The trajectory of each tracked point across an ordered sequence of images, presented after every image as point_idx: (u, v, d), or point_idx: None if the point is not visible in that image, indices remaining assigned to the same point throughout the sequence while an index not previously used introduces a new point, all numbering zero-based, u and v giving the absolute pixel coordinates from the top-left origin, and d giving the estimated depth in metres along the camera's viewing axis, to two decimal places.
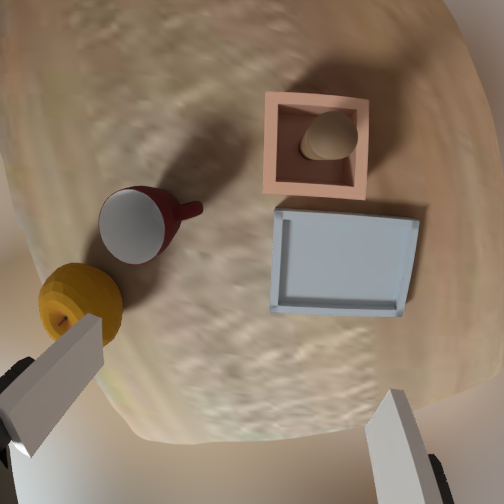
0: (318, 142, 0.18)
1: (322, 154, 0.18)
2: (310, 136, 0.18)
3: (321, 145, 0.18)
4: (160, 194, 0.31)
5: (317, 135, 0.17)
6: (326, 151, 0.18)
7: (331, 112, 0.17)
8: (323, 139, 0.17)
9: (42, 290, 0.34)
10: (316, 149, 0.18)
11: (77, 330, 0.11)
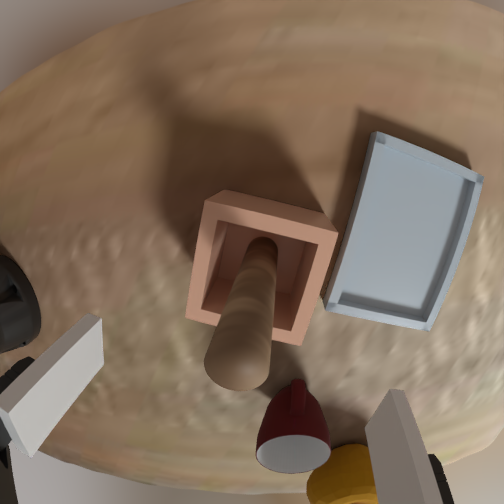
0: (243, 384, 0.14)
1: (259, 383, 0.14)
2: (234, 389, 0.14)
3: (247, 382, 0.14)
4: (272, 421, 0.29)
5: (234, 383, 0.14)
6: (256, 379, 0.14)
7: (205, 362, 0.14)
8: (240, 379, 0.14)
9: None
10: (252, 387, 0.14)
11: (77, 330, 0.11)
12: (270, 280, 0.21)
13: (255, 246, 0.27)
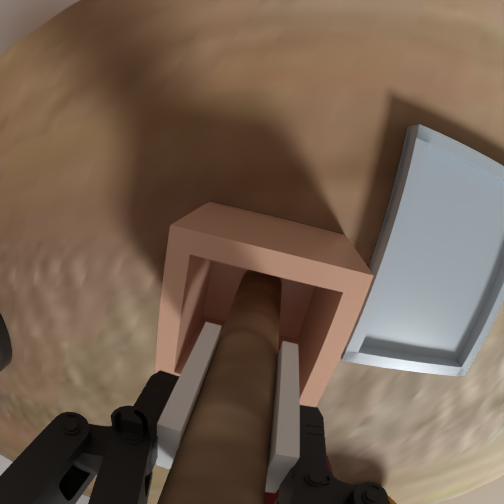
0: None
1: None
2: None
3: None
4: None
5: None
6: None
7: None
8: None
9: None
10: None
11: (205, 339, 0.13)
12: (269, 352, 0.13)
13: (250, 284, 0.19)
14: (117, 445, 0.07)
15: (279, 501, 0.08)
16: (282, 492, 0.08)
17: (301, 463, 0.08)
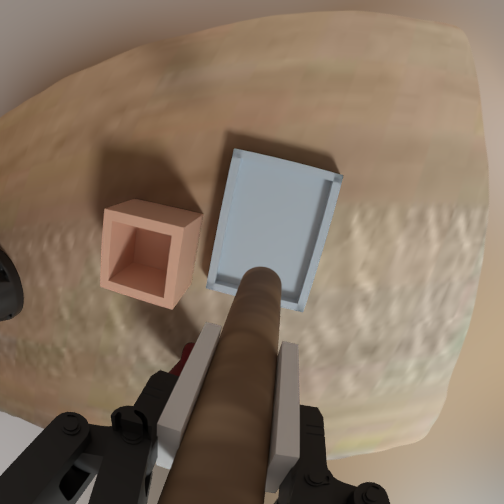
0: None
1: None
2: None
3: None
4: None
5: None
6: None
7: None
8: None
9: None
10: None
11: (205, 339, 0.13)
12: (269, 353, 0.13)
13: (250, 285, 0.19)
14: (117, 445, 0.07)
15: (279, 501, 0.08)
16: (282, 492, 0.08)
17: (301, 463, 0.08)
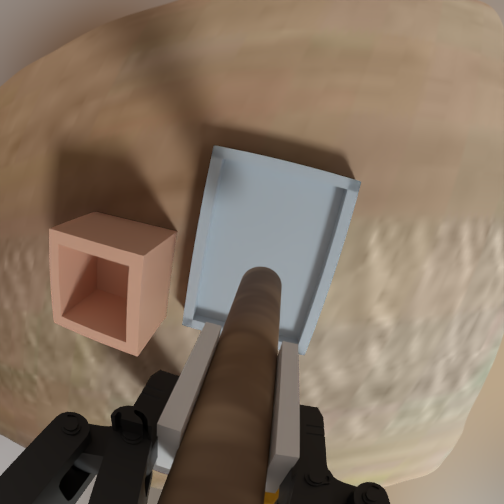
0: None
1: None
2: None
3: None
4: None
5: None
6: None
7: None
8: None
9: None
10: None
11: (205, 339, 0.13)
12: (269, 353, 0.13)
13: (250, 285, 0.19)
14: (117, 445, 0.07)
15: (279, 501, 0.08)
16: (282, 492, 0.08)
17: (301, 463, 0.08)
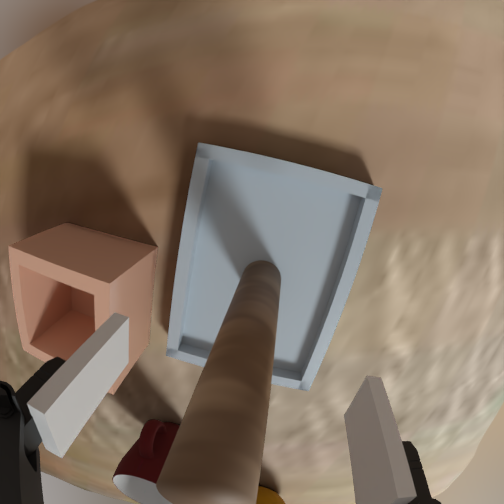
0: None
1: None
2: None
3: None
4: (126, 457, 0.24)
5: None
6: None
7: (159, 488, 0.07)
8: None
9: None
10: None
11: (106, 329, 0.11)
12: (267, 336, 0.14)
13: (250, 276, 0.20)
14: None
15: None
16: None
17: (411, 499, 0.07)
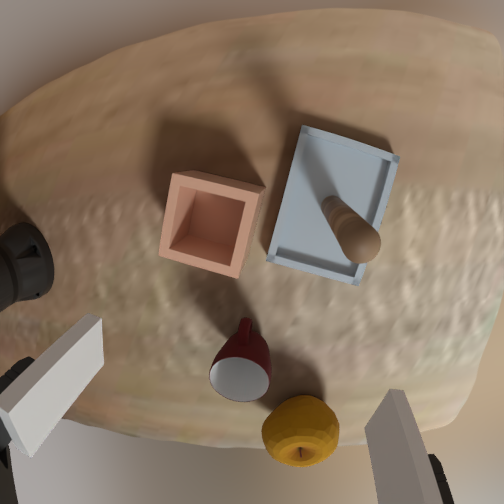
0: (364, 257, 0.22)
1: (373, 257, 0.22)
2: (357, 262, 0.22)
3: (366, 256, 0.22)
4: (223, 349, 0.40)
5: (358, 257, 0.22)
6: (372, 253, 0.22)
7: (343, 241, 0.22)
8: (362, 253, 0.22)
9: (271, 455, 0.42)
10: (368, 260, 0.22)
11: (77, 330, 0.11)
12: None
13: (333, 198, 0.35)
14: None
15: None
16: None
17: None
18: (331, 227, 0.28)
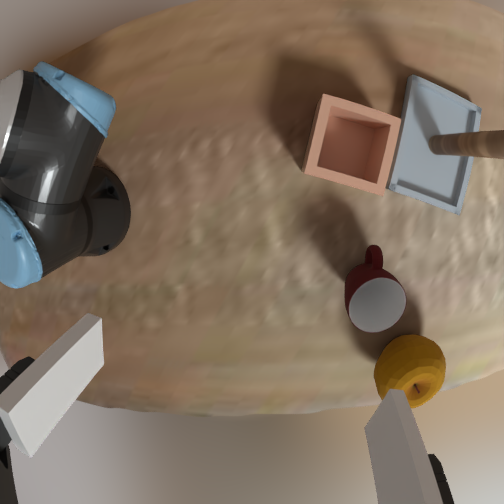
0: None
1: None
2: None
3: None
4: (359, 275, 0.38)
5: None
6: None
7: (500, 140, 0.21)
8: None
9: None
10: None
11: (77, 330, 0.11)
12: None
13: (444, 134, 0.34)
14: None
15: None
16: None
17: None
18: (467, 144, 0.27)
